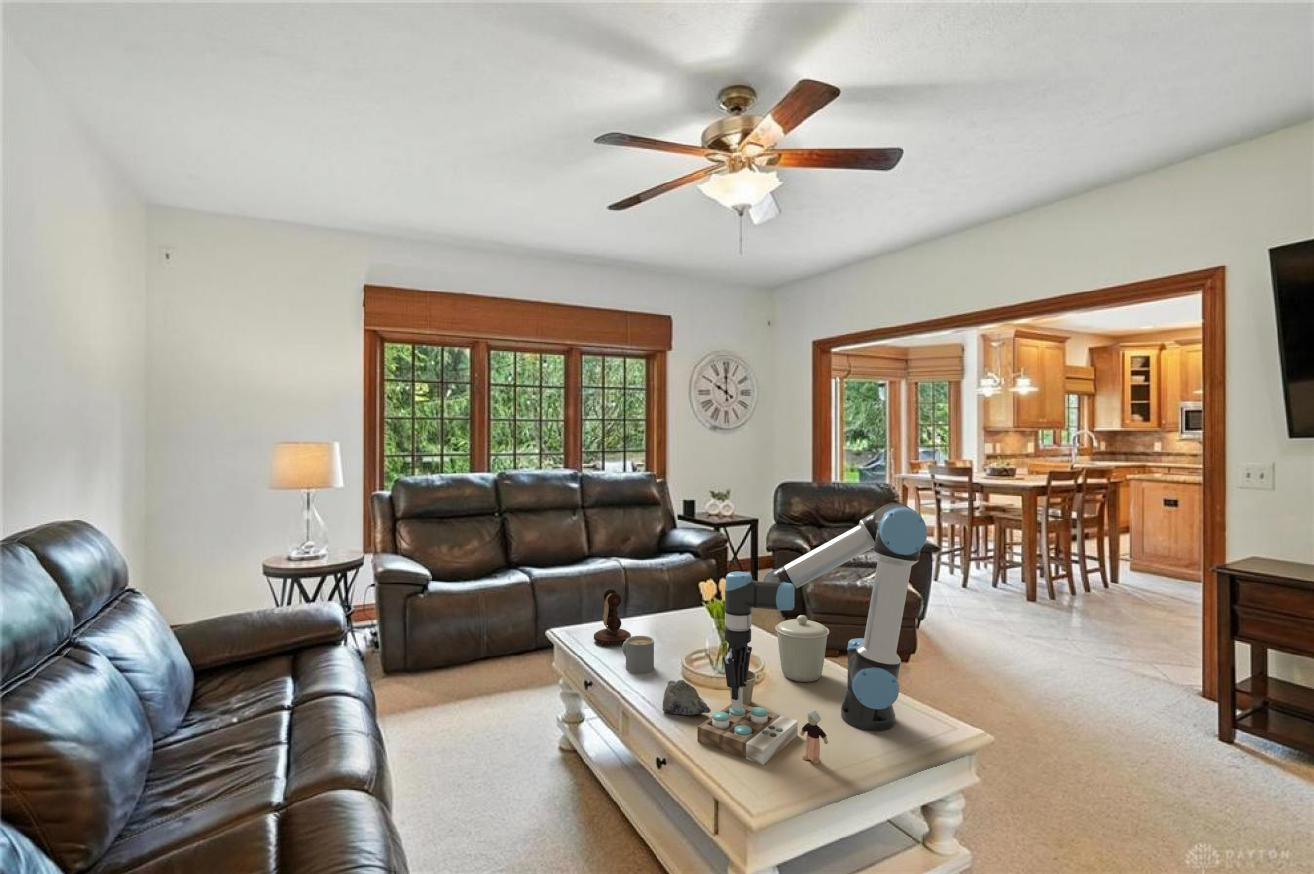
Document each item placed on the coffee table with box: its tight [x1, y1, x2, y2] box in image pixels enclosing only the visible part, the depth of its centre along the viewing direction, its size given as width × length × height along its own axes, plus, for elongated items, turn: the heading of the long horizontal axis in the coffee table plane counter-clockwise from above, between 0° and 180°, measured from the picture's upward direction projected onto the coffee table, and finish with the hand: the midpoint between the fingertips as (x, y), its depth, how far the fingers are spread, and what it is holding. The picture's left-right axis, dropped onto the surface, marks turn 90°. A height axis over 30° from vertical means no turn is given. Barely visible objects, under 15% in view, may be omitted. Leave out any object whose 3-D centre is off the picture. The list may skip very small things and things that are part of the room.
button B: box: [734, 725, 752, 738], centre depth 170 cm, size 5×5×4 cm
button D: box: [711, 711, 729, 730], centre depth 175 cm, size 5×5×4 cm
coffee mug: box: [621, 635, 655, 675], centre depth 227 cm, size 13×10×10 cm
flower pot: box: [729, 670, 758, 706], centre depth 198 cm, size 9×9×9 cm
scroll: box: [593, 588, 632, 647], centre depth 254 cm, size 15×15×20 cm
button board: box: [696, 703, 799, 766], centre depth 175 cm, size 20×20×4 cm
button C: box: [729, 708, 745, 718], centre depth 182 cm, size 5×5×4 cm
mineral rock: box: [662, 679, 712, 716], centre depth 189 cm, size 13×11×10 cm
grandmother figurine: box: [799, 710, 829, 765], centre depth 163 cm, size 8×4×13 cm, turn 58°
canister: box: [774, 614, 830, 683], centre depth 218 cm, size 18×18×21 cm
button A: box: [751, 706, 769, 726], centre depth 177 cm, size 5×5×4 cm
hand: (737, 709), depth 182 cm, fingers closed
